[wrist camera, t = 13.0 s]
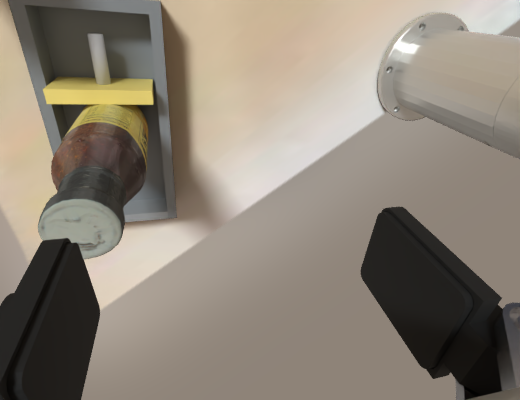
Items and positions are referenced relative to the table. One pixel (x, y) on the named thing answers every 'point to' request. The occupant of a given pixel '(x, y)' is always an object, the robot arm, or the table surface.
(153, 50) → the grey tray
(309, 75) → the table surface
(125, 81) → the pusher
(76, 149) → the sauce bottle
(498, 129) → the robot arm
